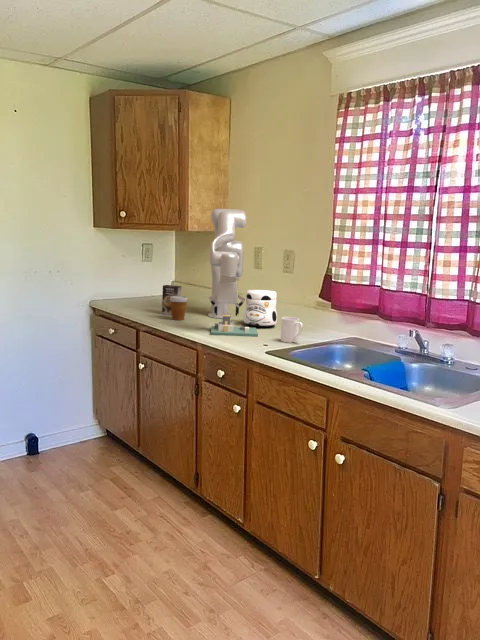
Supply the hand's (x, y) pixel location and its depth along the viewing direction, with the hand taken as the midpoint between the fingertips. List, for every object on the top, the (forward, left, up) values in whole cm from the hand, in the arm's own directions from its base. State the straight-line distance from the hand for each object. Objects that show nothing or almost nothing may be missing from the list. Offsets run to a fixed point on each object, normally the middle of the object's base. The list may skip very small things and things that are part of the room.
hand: (226, 315), depth 270 cm
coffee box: (-45, -30, -9) cm, 55 cm away
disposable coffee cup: (-29, -25, -8) cm, 39 cm away
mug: (+18, +30, -8) cm, 36 cm away
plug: (+1, 0, -7) cm, 7 cm away
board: (+1, +4, -8) cm, 9 cm away
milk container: (-19, +18, -9) cm, 28 cm away
